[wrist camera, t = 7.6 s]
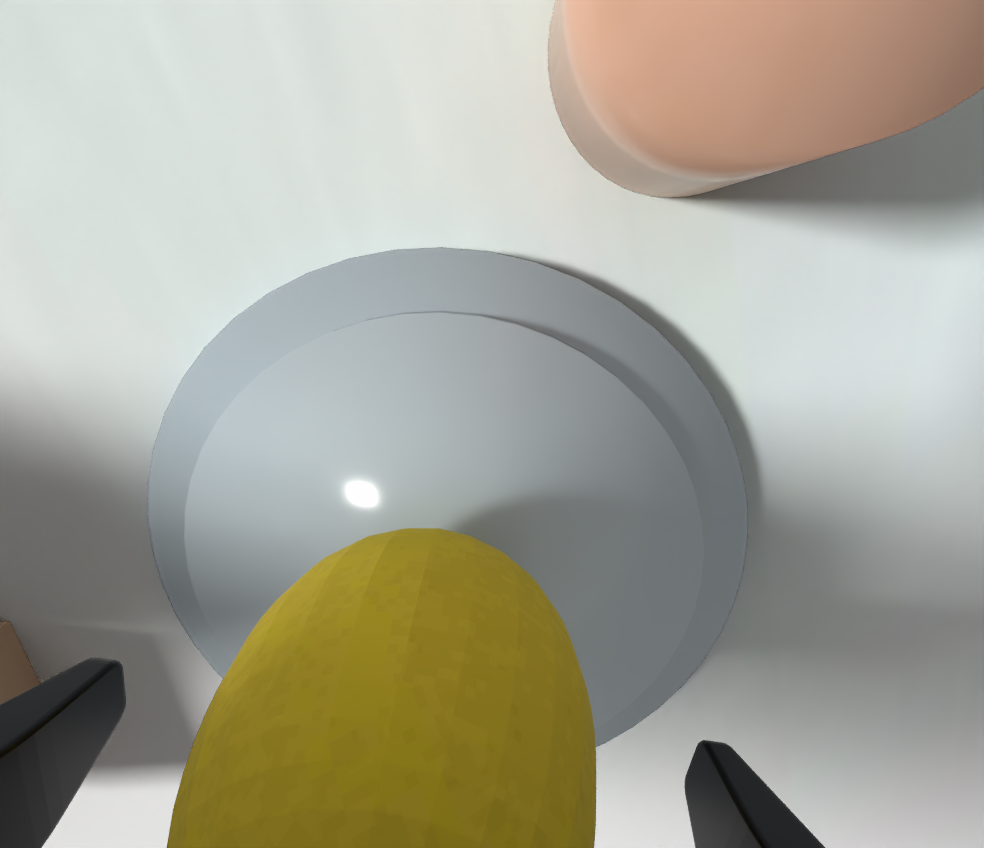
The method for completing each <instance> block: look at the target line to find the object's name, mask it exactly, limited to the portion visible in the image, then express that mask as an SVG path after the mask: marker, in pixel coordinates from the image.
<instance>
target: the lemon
mask: <svg viewBox="0 0 984 848" xmlns="http://www.w3.org/2000/svg"><path fill="white" fill-rule="evenodd" d="M595 826H596V749H595V731H594V724H593V716H592V709H591V704H590V700H589V695H588V690H587V687H586V684H585V681H584V677H583V674H582V671H581V668H580V665H579V662H578V659H577V656H576V653H575V650H574V647H573V644H572V641H571V638H570V636H569V634H568V631H567V629H566V627H565V624H564V622H563V620H562V619H561V617H560V615H559V614H558V612H557V610H556V609H555V607H554V606H553V605H552V603H551V602H550V600H549V599H548V597H547V596H546V595H545V593H544V592H543V590H542V589H541V588H540V586H539V585H538V583H537V582H536V581H535V580H534V579H533V578H532V576H531V575H530V574H529V573H528V572H526V571H525V570H524V569H523V568H521V567H520V566H519V565H518V564H517V563H515V562H514V561H513V560H512V559H511V558H509V557H508V556H507V555H506V554H504V553H503V552H501V551H500V550H498V549H496V548H494V547H492V546H490V545H488V544H486V543H484V542H482V541H480V540H478V539H476V538H474V537H472V536H469V535H465V534H460V533H456V532H452V531H448V530H444V529H440V528H405V529H399V530H395V531H390V532H385V533H381V534H376V535H371V536H367V537H365V538H363V539H361V540H359V541H357V542H355V543H353V544H351V545H349V546H347V547H345V548H343V549H341V550H339V551H337V552H335V553H333V554H331V555H329V556H327V557H325V558H324V559H323V560H321V561H320V562H318V563H317V564H316V565H314V566H313V567H312V568H311V569H310V570H309V571H308V572H307V573H306V574H304V575H303V576H302V577H301V578H300V579H299V580H298V581H297V582H296V583H294V584H293V585H292V586H291V587H290V588H289V589H288V590H287V591H286V592H285V593H284V594H283V595H282V596H281V597H279V598H278V599H277V600H276V601H275V602H274V604H273V605H272V606H271V607H270V608H269V609H268V611H267V612H266V613H265V614H264V615H263V616H262V618H261V619H260V620H259V622H258V623H257V625H256V626H255V627H254V629H253V630H252V632H251V633H250V635H249V636H248V638H247V639H246V641H245V643H244V645H243V646H242V648H241V650H240V651H239V653H238V655H237V656H236V658H235V660H234V662H233V663H232V665H231V667H230V668H229V670H228V672H227V674H226V675H225V677H224V679H223V680H222V682H221V684H220V686H219V687H218V689H217V691H216V693H215V695H214V697H213V699H212V701H211V703H210V705H209V707H208V709H207V712H206V714H205V716H204V718H203V721H202V723H201V726H200V728H199V731H198V733H197V736H196V738H195V740H194V743H193V746H192V749H191V752H190V755H189V758H188V761H187V763H186V766H185V769H184V772H183V776H182V779H181V783H180V787H179V790H178V794H177V798H176V801H175V805H174V809H173V815H172V820H171V826H170V832H169V838H168V843H167V848H594V840H595Z"/></svg>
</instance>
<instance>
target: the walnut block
mask: <svg viewBox="0 0 984 848" xmlns="http://www.w3.org/2000/svg"><path fill="white" fill-rule="evenodd" d="M39 684H40V682H39V680H38V678H37V676H36V674H35V672H34V670H33V668H32V665H31V663H30V661H29V659H28V657H27V655H26V653H25V651H24V649H23V647H22V645H21V643H20V641H19V639H18V637H17V635H16V633H15V631H14V629H13V627H12V625H11V623H10V621H2V622H0V704H2V703H4V702H6V701H8V700H10V699H12V698H14V697H16V696H17V695H19V694H21V693H23V692H25V691H27V690H29V689H31V688H33V687H35V686H37V685H39Z"/></svg>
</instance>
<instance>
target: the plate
mask: <svg viewBox="0 0 984 848" xmlns="http://www.w3.org/2000/svg"><path fill="white" fill-rule="evenodd" d="M148 522H149V529H150V535H151V542H152V549H153V554H154V557H155V561H156V564H157V567H158V571H159V574H160V578H161V581H162V584H163V587H164V589H165V591H166V593H167V595H168V598H169V600H170V602H171V604H172V607H173V609H174V611H175V613H176V615H177V617H178V619H179V620H180V622H181V624H182V625H183V627H184V629H185V630H186V632H187V633H188V635H189V637H190V638H191V640H192V642H193V643H194V645H195V646H196V647H197V648H198V650H199V651H200V652H201V653H202V655H203V656H204V657H205V658H206V660H207V661H208V662H209V664H210V665H211V666H212V667H213V669H214V670H215V671H216V672H217V673H218V674H219V675H220V676H221V677H222V678H223V679H224V677H225V675H226V674H227V672H228V670H229V668H230V667H231V665H232V663H233V662H234V660H235V658H236V656H237V655H238V653H239V651H240V650H241V648H242V646H243V645H244V643H245V641H246V639H247V638H248V636H249V635H250V633H251V632H252V630H253V629H254V627H255V626H256V625H257V623H258V622H259V620H260V619H261V618H262V616H263V615H264V614H265V613H266V612H267V611H268V609H269V608H270V607H271V606H272V605H273V604H274V602H275V601H276V600H277V599H278V598H279V597H281V596H282V595H283V594H284V593H285V592H286V591H287V590H288V589H289V588H290V587H291V586H292V585H293V584H294V583H296V582H297V581H298V580H299V579H300V578H301V577H302V576H303V575H304V574H306V573H307V572H308V571H309V570H310V569H311V568H312V567H313V566H314V565H316V564H317V563H318V562H320V561H321V560H323V559H324V558H325V557H327V556H329V555H331V554H333V553H335V552H337V551H339V550H341V549H343V548H345V547H347V546H349V545H351V544H353V543H355V542H357V541H359V540H361V539H363V538H365V537H367V536H371V535H376V534H381V533H385V532H390V531H395V530H399V529H405V528H440V529H444V530H448V531H452V532H456V533H460V534H465V535H469V536H472V537H474V538H476V539H478V540H480V541H482V542H484V543H486V544H488V545H490V546H492V547H494V548H496V549H498V550H500V551H501V552H503V553H504V554H506V555H507V556H508V557H509V558H511V559H512V560H513V561H514V562H515V563H517V564H518V565H519V566H520V567H521V568H523V569H524V570H525V571H526V572H528V573H529V574H530V575H531V576H532V578H533V579H534V580H535V581H536V582H537V583H538V585H539V586H540V588H541V589H542V590H543V592H544V593H545V595H546V596H547V597H548V599H549V600H550V602H551V603H552V605H553V606H554V607H555V609H556V610H557V612H558V614H559V615H560V617H561V619H562V620H563V622H564V624H565V627H566V629H567V631H568V634H569V636H570V638H571V641H572V644H573V647H574V650H575V653H576V656H577V659H578V662H579V665H580V668H581V671H582V674H583V677H584V681H585V684H586V687H587V690H588V695H589V700H590V704H591V709H592V716H593V724H594V731H595V747H597V746H599V745H601V744H604V743H606V742H608V741H609V740H611V739H613V738H614V737H616V736H618V735H620V734H621V733H623V732H625V731H627V730H628V729H630V728H632V727H634V726H635V725H636V724H638V723H639V722H640V721H642V720H643V719H644V718H646V717H647V716H648V715H650V714H651V713H652V712H654V711H655V710H656V709H658V708H659V707H660V706H661V705H662V704H663V703H664V702H666V701H667V700H668V699H669V698H670V697H671V696H672V695H673V694H674V693H675V692H676V691H677V690H678V689H679V688H680V687H681V686H683V684H684V683H685V682H686V681H687V680H688V678H689V677H690V676H691V675H692V673H693V672H694V671H695V670H696V669H697V667H698V666H699V665H700V664H701V662H702V661H703V660H704V658H705V657H706V655H707V654H708V652H709V650H710V649H711V647H712V646H713V644H714V642H715V641H716V639H717V638H718V636H719V634H720V633H721V631H722V628H723V626H724V624H725V622H726V619H727V617H728V615H729V613H730V610H731V608H732V606H733V604H734V601H735V598H736V594H737V591H738V587H739V583H740V580H741V576H742V573H743V569H744V561H745V553H746V546H747V538H748V521H747V497H746V491H745V486H744V480H743V475H742V469H741V464H740V460H739V458H738V455H737V452H736V449H735V446H734V443H733V440H732V437H731V434H730V432H729V429H728V426H727V424H726V422H725V420H724V419H723V417H722V415H721V413H720V411H719V409H718V407H717V405H716V403H715V401H714V400H713V398H712V396H711V394H710V392H709V391H708V389H707V388H706V386H705V385H704V384H703V382H702V381H701V380H700V378H699V377H698V376H697V374H696V373H695V372H694V370H693V369H692V367H691V366H690V365H689V363H688V362H687V361H686V359H685V358H684V357H683V356H682V355H681V354H680V353H679V352H678V351H677V350H676V349H675V348H674V347H673V346H672V345H671V344H670V343H669V342H668V341H667V340H666V339H665V338H664V337H663V336H662V335H661V334H660V333H659V332H658V331H657V330H656V329H655V328H654V327H653V326H651V325H650V324H649V323H647V322H646V321H645V320H643V319H642V318H641V317H639V316H638V315H637V314H635V313H634V312H633V311H631V310H630V309H629V308H628V307H626V306H625V305H624V304H622V303H621V302H620V301H618V300H616V299H614V298H613V297H611V296H609V295H607V294H605V293H603V292H602V291H600V290H598V289H596V288H594V287H593V286H591V285H589V284H587V283H585V282H583V281H582V280H580V279H578V278H575V277H572V276H570V275H567V274H565V273H562V272H559V271H557V270H554V269H552V268H549V267H546V266H544V265H541V264H538V263H536V262H532V261H528V260H524V259H519V258H515V257H511V256H506V255H502V254H498V253H493V252H488V251H477V250H465V249H454V248H443V247H440V248H420V249H400V250H391V251H386V252H380V253H375V254H370V255H365V256H360V257H354V258H349V259H346V260H344V261H341V262H338V263H335V264H332V265H329V266H326V267H323V268H320V269H318V270H315V271H312V272H309V273H306V274H304V275H302V276H300V277H299V278H297V279H295V280H293V281H291V282H289V283H287V284H285V285H283V286H281V287H279V288H277V289H276V290H274V291H272V292H270V293H268V294H266V295H265V296H264V297H262V298H261V299H260V300H258V301H257V302H256V303H254V304H253V305H251V306H250V307H249V308H247V309H246V310H245V311H243V312H242V313H240V314H239V315H238V316H236V317H235V318H234V319H233V320H232V321H231V322H230V323H229V324H228V325H227V326H226V327H225V328H224V329H223V330H222V331H221V332H220V333H219V334H218V335H217V336H216V337H215V338H214V339H213V340H212V341H211V342H210V343H209V344H208V345H207V346H206V347H205V348H204V349H203V351H202V352H201V353H200V355H199V356H198V357H197V359H196V360H195V362H194V363H193V364H192V366H191V367H190V368H189V370H188V371H187V373H186V374H185V375H184V377H183V378H182V380H181V382H180V384H179V386H178V388H177V389H176V391H175V393H174V395H173V397H172V399H171V401H170V403H169V405H168V407H167V409H166V411H165V413H164V416H163V420H162V423H161V426H160V429H159V432H158V435H157V438H156V441H155V444H154V448H153V454H152V460H151V467H150V473H149V480H148Z"/></svg>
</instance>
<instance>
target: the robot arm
mask: <svg viewBox="0 0 984 848" xmlns="http://www.w3.org/2000/svg"><path fill="white" fill-rule="evenodd" d="M125 705H126V695H125V685H124V675H123V667H122V665H121V663H120V662H119V661H116V660H109V659H102V658H91V659H87V660H85V661H83V662H81V663H79V664H77V665H75V666H73V667H71V668H69V669H68V670H66V671H64V672H62V673H60V674H58V675H56V676H54V677H52V678H50V679H48V680H46V681H44V682H42V683H41V684H39V685H37V686H35V687H33V688H31V689H29V690H27V691H25V692H23V693H21V694H19V695H17V696H16V697H14V698H12V699H10V700H8V701H6V702H4V703H2V704H0V848H42V846H43V845H44V843H45V842H46V840H47V839H48V837H49V836H50V835H51V833H52V832H53V830H54V828H55V827H56V825H57V824H58V822H59V821H60V819H61V817H62V816H63V814H64V813H65V811H66V809H67V808H68V806H69V804H70V803H71V801H72V799H73V798H74V796H75V794H76V793H77V791H78V789H79V788H80V786H81V784H82V783H83V781H84V779H85V778H86V776H87V774H88V773H89V771H90V769H91V768H92V766H93V764H94V763H95V761H96V759H97V758H98V756H99V754H100V753H101V751H102V749H103V748H104V746H105V744H106V743H107V741H108V739H109V738H110V736H111V734H112V733H113V731H114V729H115V728H116V726H117V724H118V723H119V721H120V719H121V717H122V715H123V713H124V709H125ZM685 794H686V800H687V805H688V811H689V816H690V821H691V826H692V832H693V837H694V842H695V847H696V848H825V847H824V846H823V845H822V844H821V843H820V842H819V840H818V839H817V838H816V837H815V836H814V835H813V834H812V833H811V832H810V831H809V830H808V829H807V828H806V827H805V826H804V824H803V823H802V822H801V821H800V820H799V819H798V818H797V817H796V816H795V815H794V814H793V813H792V812H791V811H790V809H789V808H788V807H787V806H786V805H785V804H784V803H783V802H782V801H781V800H780V799H779V798H778V797H777V796H776V794H775V793H774V792H773V791H772V790H771V789H770V788H769V787H768V786H767V785H766V784H765V783H764V782H763V781H762V780H761V778H760V777H759V776H758V775H757V774H756V773H755V772H754V771H753V770H752V769H751V768H750V767H749V766H748V765H747V763H746V762H745V761H744V760H743V759H742V758H741V757H740V756H739V755H738V754H737V753H736V752H735V751H734V750H733V749H732V748H731V747H730V746H729V745H727V744H725V743H722V742H714V741H707V740H703V741H701V742H700V743H698V745H697V747H696V750H695V753H694V755H693V758H692V761H691V763H690V766H689V769H688V771H687V774H686V778H685Z"/></svg>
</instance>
